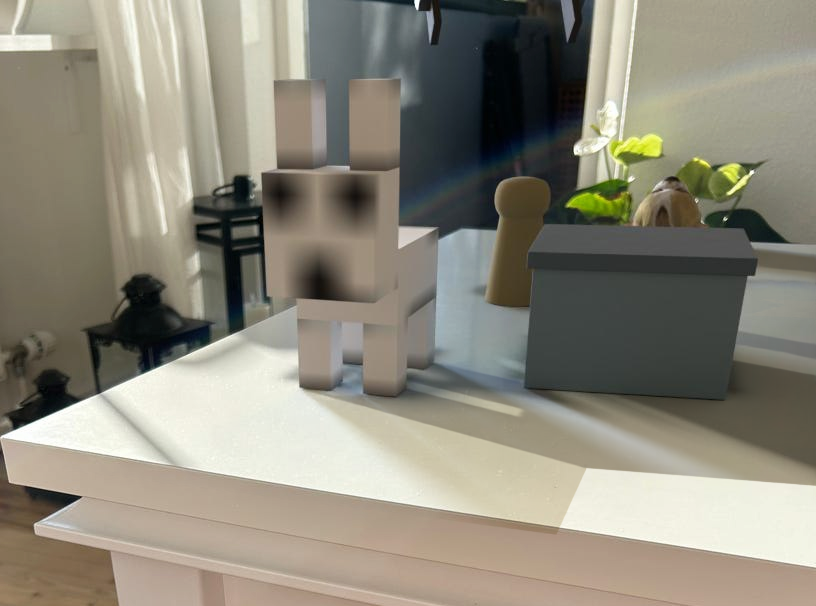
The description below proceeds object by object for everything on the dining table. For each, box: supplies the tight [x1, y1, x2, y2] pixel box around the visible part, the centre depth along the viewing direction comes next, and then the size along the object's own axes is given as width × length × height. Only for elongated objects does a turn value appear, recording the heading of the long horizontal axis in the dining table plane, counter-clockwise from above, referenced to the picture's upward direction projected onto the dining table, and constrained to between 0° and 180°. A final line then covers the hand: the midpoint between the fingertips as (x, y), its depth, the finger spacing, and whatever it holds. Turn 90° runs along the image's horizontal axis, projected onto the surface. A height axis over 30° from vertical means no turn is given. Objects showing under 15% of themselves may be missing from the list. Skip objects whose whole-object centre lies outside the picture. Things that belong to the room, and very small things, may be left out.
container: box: [523, 223, 759, 401], centre depth 76 cm, size 15×13×10 cm
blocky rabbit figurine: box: [260, 77, 440, 398], centre depth 72 cm, size 8×18×20 cm, turn 159°
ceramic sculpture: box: [620, 175, 711, 228], centre depth 118 cm, size 11×9×15 cm
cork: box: [484, 176, 552, 307], centre depth 98 cm, size 6×6×11 cm
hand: (505, 33), depth 98 cm, fingers open, 13 cm apart
